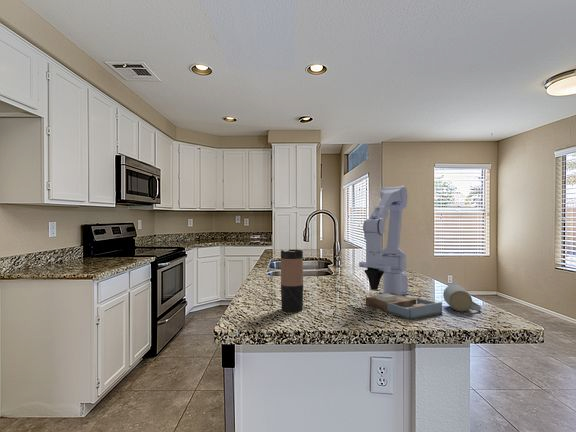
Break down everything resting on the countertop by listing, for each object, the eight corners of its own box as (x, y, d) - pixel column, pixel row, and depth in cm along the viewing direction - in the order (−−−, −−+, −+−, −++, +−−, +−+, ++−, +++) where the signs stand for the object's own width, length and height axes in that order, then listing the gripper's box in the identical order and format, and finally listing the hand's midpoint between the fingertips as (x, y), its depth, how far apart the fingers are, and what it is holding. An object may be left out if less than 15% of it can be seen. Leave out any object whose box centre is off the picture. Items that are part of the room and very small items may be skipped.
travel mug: (301, 313, 106) (301, 251, 106) (278, 312, 108) (278, 251, 108) (305, 307, 114) (304, 249, 114) (283, 306, 115) (283, 249, 115)
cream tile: (386, 297, 116) (386, 293, 116) (395, 300, 112) (395, 295, 112) (376, 299, 114) (376, 294, 114) (386, 302, 110) (386, 297, 110)
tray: (418, 306, 113) (418, 296, 113) (442, 313, 105) (441, 302, 105) (387, 312, 107) (387, 301, 107) (410, 319, 98) (410, 308, 98)
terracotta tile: (433, 306, 105) (433, 311, 105) (421, 303, 109) (421, 308, 109) (423, 308, 103) (423, 313, 103) (412, 305, 107) (412, 309, 107)
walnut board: (392, 299, 123) (392, 293, 123) (416, 306, 113) (416, 299, 113) (365, 304, 117) (365, 297, 117) (388, 311, 107) (388, 304, 107)
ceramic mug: (449, 312, 106) (449, 288, 106) (442, 305, 114) (443, 283, 114) (485, 314, 104) (485, 290, 104) (476, 307, 112) (476, 285, 112)
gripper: (352, 250, 123) (352, 286, 123) (379, 254, 110) (380, 294, 110) (367, 249, 126) (367, 285, 126) (395, 253, 113) (395, 292, 113)
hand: (374, 289), depth 118 cm, fingers closed
